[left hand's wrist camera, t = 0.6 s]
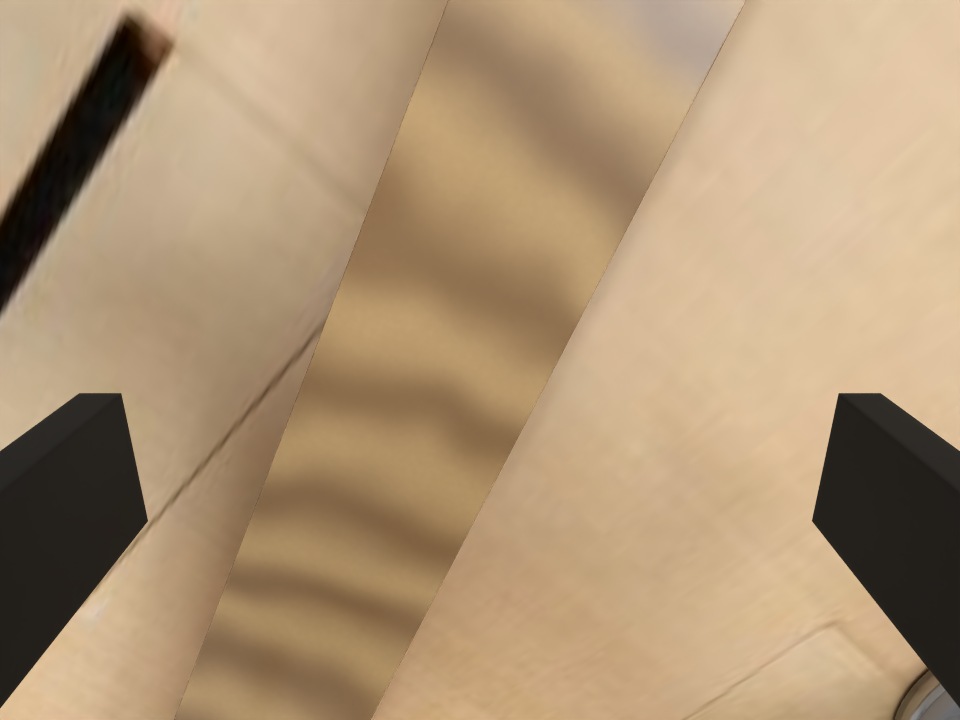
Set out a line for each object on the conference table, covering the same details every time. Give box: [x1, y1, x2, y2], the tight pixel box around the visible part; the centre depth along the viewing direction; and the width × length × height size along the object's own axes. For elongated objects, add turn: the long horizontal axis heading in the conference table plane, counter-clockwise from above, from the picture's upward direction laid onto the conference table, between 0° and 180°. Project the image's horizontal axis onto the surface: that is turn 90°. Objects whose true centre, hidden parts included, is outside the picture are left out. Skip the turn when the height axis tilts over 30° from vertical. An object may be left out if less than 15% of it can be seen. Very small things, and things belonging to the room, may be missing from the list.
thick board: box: [174, 0, 746, 720], centre depth 35 cm, size 69×10×8 cm, turn 156°
